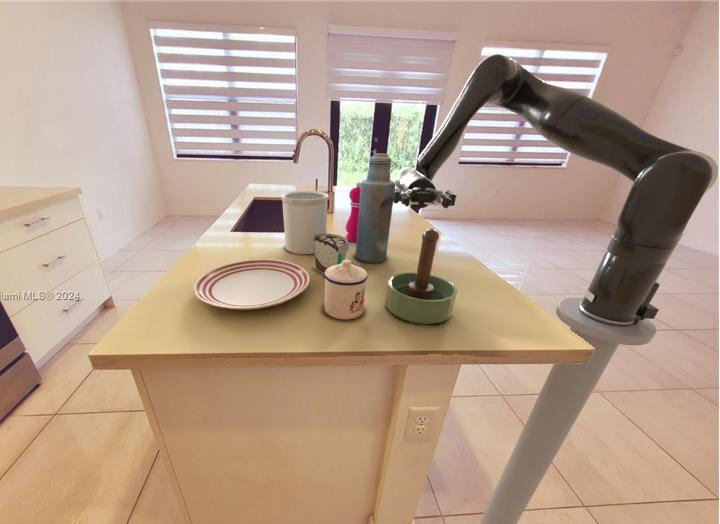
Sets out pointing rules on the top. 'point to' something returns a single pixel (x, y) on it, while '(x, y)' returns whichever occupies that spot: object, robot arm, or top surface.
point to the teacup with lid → (344, 290)
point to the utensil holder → (304, 219)
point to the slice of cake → (329, 250)
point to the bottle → (375, 210)
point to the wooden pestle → (424, 267)
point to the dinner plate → (251, 284)
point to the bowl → (420, 300)
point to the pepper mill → (353, 214)
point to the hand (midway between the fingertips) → (427, 202)
